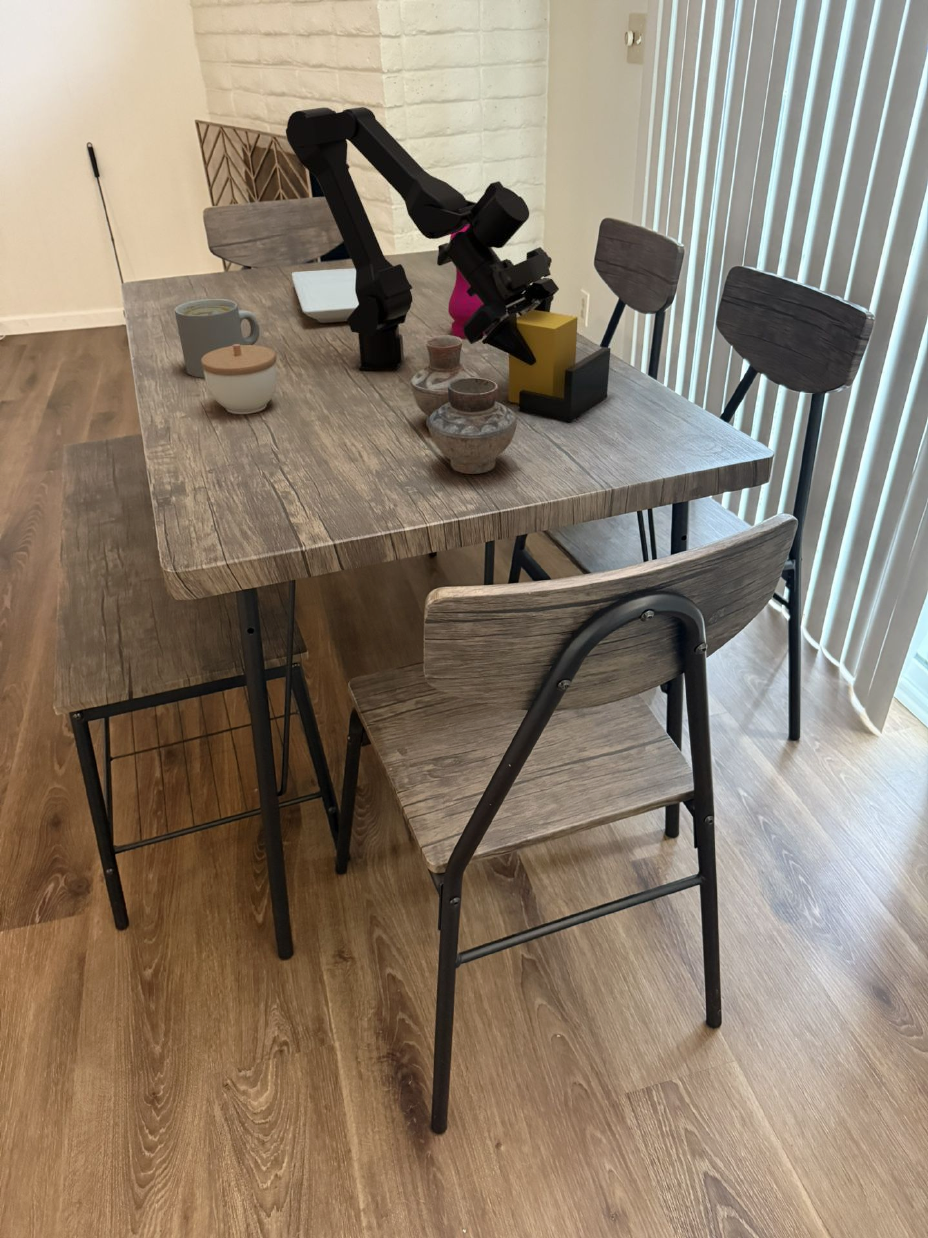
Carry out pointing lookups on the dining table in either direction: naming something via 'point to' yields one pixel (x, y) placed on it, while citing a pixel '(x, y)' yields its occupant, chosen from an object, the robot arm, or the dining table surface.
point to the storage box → (544, 354)
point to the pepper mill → (461, 301)
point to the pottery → (462, 409)
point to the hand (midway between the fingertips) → (546, 356)
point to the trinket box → (241, 377)
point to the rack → (573, 390)
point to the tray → (327, 293)
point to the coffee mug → (211, 329)
